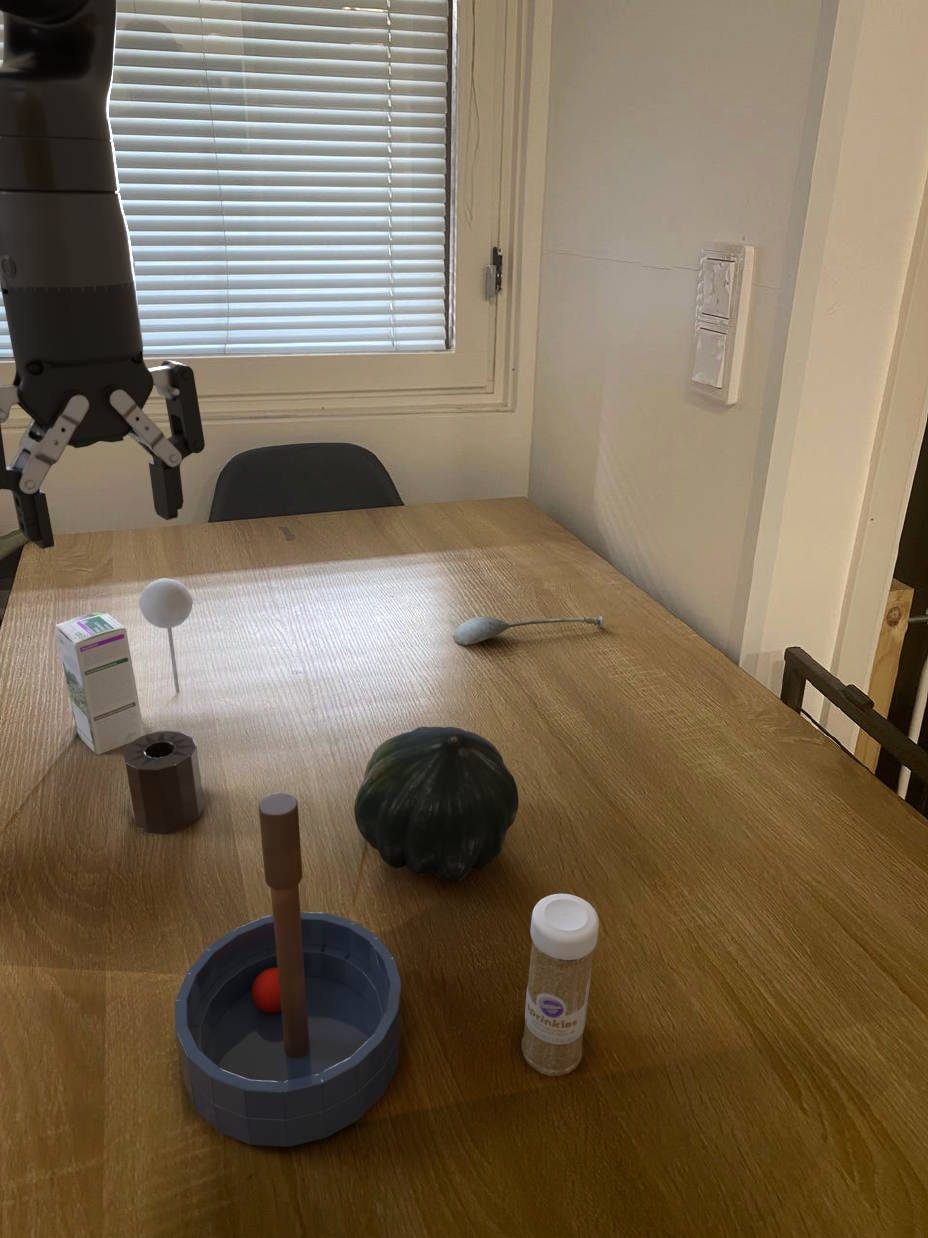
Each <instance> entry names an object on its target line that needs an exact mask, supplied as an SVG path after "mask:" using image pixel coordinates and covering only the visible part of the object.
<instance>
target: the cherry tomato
mask: <svg viewBox="0 0 928 1238" xmlns="http://www.w3.org/2000/svg"><path fill="white" fill-rule="evenodd" d="M252 998H253V1001H254V1003H255V1005H256V1006H257V1007H258V1008H259V1009H260V1010H262V1011H264V1012H267V1013H277V1012H280V1011H281V1002H280V990H279V979H278V968H269V969H267V970H265V971H263V972H261V973H260V974H259V975H258V976H257V978H256V979H255V981H254V983H253V987H252Z"/></svg>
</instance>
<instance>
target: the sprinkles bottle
mask: <svg viewBox="0 0 928 1238" xmlns="http://www.w3.org/2000/svg"><path fill="white" fill-rule="evenodd" d="M530 920H531V921H530V931H529V932H530V937H531V949H530V951H531V952H530V962H529V971H528V983H527V987H526V996H525V1007H524V1032H523V1037H522V1040H521V1052H522V1055H523V1057H524V1059H525V1061H526V1063H527V1064H528V1065H529V1066H530V1067H531V1068H532V1069H534V1070H535V1071H536V1072H538V1073H540V1074H542V1075H545V1076H549V1077H560V1076H564V1075H568V1074H569V1073H570V1072H573V1070H575V1069H576V1068H577V1067H578V1065H579V1064H580V1063H581V1060H582V1057H583V1038H584V1030H585V1027H586V1020H587V1011H588V1004H589V994H590V987H591V978H592V963H593V956H594V951H595V949H596V946H597V943H598V937H599V927H600V920H599V916H598V913H597V911H596V909H595V908H594V907H593V906H592V904H590V903H589V902H588V901H587V900H586V899H584V898H581V897H579V896H577V895H574V894H569V893H555V894H550V895H547V896H545V897H543V898H541V899H540V900H539V901H538V902H537V903H536V904H535V905H534V908H533V910H532V913H531V919H530ZM570 1074H571V1073H570Z"/></svg>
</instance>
